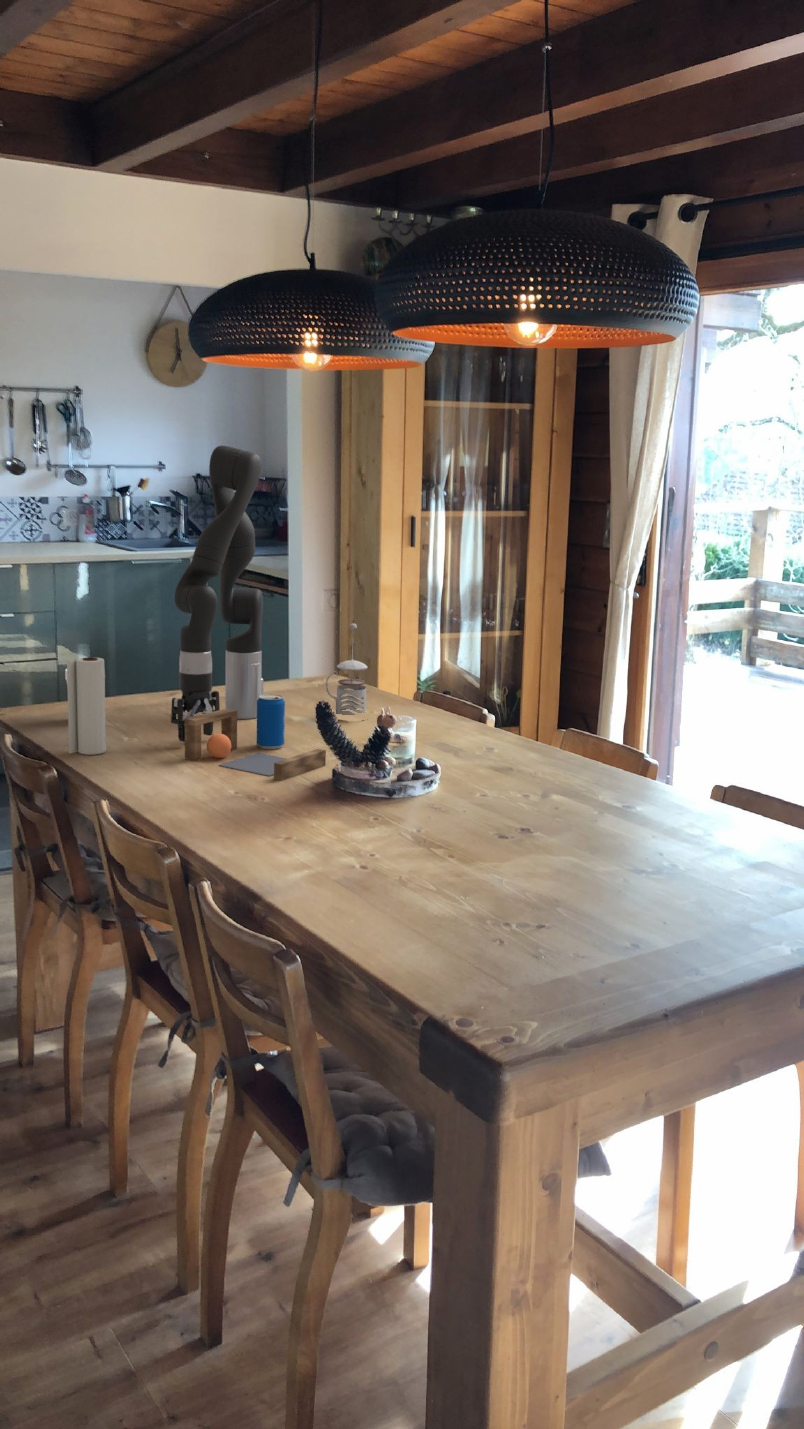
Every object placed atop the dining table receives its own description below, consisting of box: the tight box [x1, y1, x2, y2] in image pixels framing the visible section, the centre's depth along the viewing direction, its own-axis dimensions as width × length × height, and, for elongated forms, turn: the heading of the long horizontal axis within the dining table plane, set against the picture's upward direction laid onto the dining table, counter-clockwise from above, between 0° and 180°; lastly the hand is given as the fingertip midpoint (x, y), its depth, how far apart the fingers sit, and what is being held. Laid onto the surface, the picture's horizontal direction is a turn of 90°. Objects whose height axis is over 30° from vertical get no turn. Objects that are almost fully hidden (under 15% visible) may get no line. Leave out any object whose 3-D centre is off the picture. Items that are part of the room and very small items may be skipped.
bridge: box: [184, 708, 238, 762], centre depth 270 cm, size 3×14×9 cm, turn 148°
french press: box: [325, 623, 369, 715], centre depth 311 cm, size 10×12×25 cm
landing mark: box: [218, 752, 288, 777], centre depth 264 cm, size 14×14×1 cm
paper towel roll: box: [66, 656, 107, 756], centre depth 267 cm, size 7×6×21 cm
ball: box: [206, 733, 231, 759], centre depth 268 cm, size 6×6×6 cm
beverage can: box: [256, 693, 286, 750], centre depth 279 cm, size 6×6×12 cm
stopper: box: [273, 748, 327, 781], centre depth 258 cm, size 16×2×4 cm, turn 148°
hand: (195, 738), depth 280 cm, fingers open, 8 cm apart
